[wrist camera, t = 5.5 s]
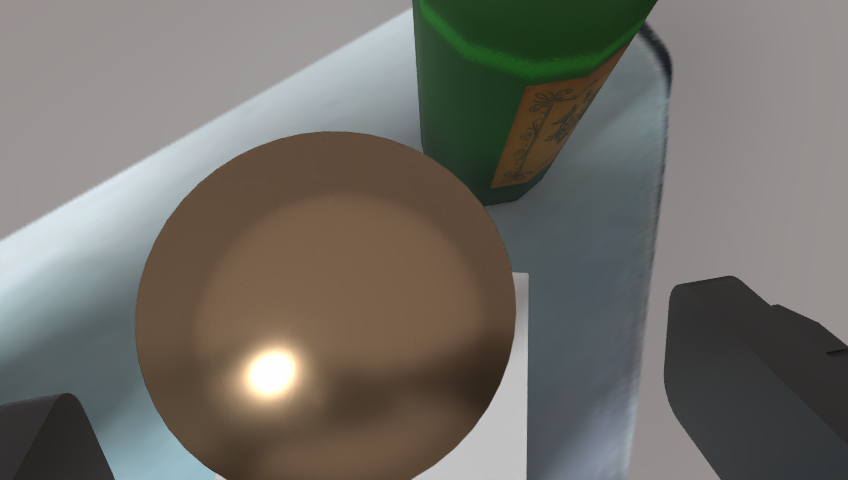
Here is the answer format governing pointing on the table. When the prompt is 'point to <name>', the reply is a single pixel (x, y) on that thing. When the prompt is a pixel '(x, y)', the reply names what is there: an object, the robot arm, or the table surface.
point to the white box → (496, 418)
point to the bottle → (512, 82)
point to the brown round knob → (325, 312)
